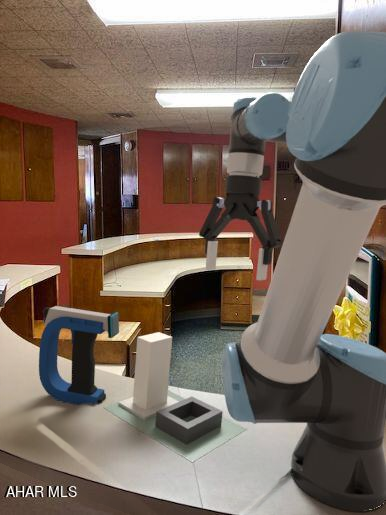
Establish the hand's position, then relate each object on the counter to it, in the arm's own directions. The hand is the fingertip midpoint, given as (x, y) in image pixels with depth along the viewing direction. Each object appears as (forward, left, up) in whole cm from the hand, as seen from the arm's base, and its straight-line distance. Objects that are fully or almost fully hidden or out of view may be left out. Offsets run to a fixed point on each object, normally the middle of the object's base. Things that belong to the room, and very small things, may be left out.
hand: (234, 274), depth 91 cm
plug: (+7, +16, -27) cm, 32 cm away
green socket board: (0, +16, -29) cm, 33 cm away
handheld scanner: (+20, +25, -29) cm, 43 cm away
